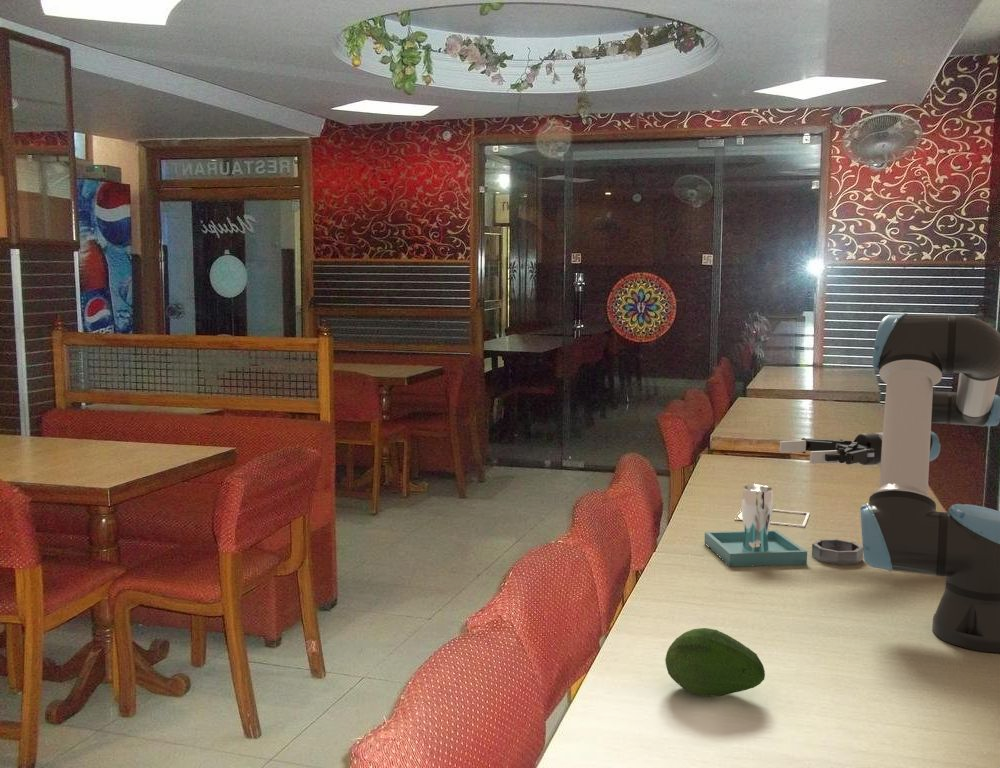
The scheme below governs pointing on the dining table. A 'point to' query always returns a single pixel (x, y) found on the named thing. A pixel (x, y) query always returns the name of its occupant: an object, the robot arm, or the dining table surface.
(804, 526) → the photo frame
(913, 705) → the dining table surface
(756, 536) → the silver metal tumbler
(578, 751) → the dining table surface
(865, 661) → the dining table surface
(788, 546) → the tray
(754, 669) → the fruit
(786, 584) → the dining table surface
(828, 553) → the holder ring
